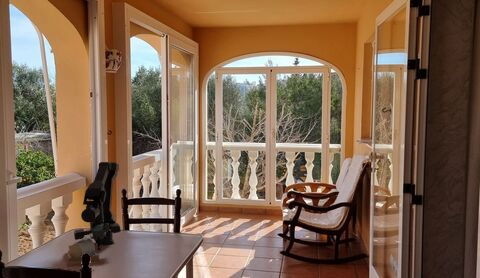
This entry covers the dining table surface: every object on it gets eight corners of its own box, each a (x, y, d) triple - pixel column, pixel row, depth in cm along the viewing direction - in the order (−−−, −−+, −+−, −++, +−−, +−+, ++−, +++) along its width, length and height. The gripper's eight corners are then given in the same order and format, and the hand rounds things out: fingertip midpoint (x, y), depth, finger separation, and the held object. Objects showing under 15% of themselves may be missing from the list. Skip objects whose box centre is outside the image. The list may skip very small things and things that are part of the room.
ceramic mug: (67, 260, 162) (67, 242, 162) (81, 253, 170) (81, 236, 169) (87, 264, 159) (87, 245, 158) (101, 257, 166) (101, 239, 166)
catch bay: (68, 252, 171) (67, 245, 171) (96, 248, 176) (96, 242, 176) (67, 266, 155) (67, 259, 155) (98, 262, 160) (98, 255, 160)
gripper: (73, 224, 156) (76, 261, 157) (121, 216, 164) (123, 251, 165) (72, 217, 166) (75, 252, 167) (117, 210, 174) (120, 243, 175)
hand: (99, 250), depth 168 cm, fingers closed
